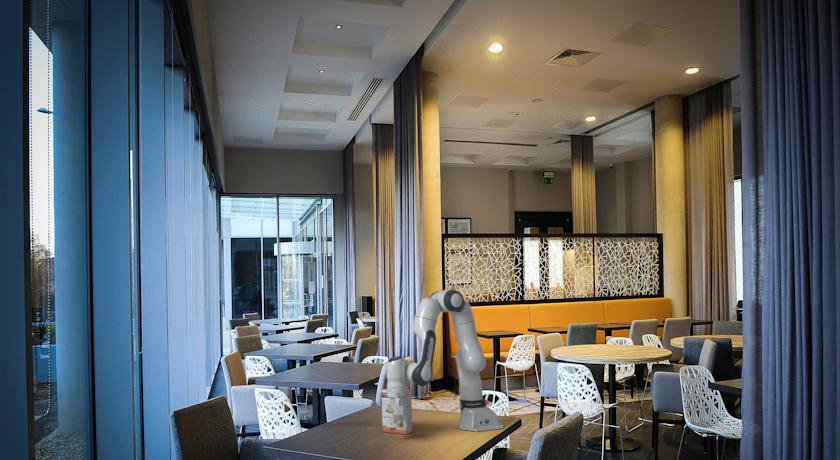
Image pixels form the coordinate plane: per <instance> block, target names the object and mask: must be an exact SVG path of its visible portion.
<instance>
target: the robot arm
mask: <svg viewBox="0 0 840 460" xmlns="http://www.w3.org/2000/svg"><path fill="white" fill-rule="evenodd" d="M463 296H464V295H463V294H462V293H461V292H460V291H458V290H456V289H444V290H438V291H435V292H432V294H430V295H429V296H428V297H426V298H422V300H421V301H420V303H419V305H418V307H417V309H416V312H415V315H414V319H413V323H412V330H413V333H414V334H415V335H416V337H417V338H418V339H420V341H421V343H422V345H421V353H420V357H419V358H420V359H419V362H413V361H411V360H407V359H405V358H404V356H399V355H398V356H392V357H390V358H389V359H388V360H387V362H386V367H385V370H386V379H387V383H386V388H387V396H388V397H390V403H391V408H392V410H393V411H394V415H396V422H397V424H400V423H401V416H403V415H404V407H403V399H404V398H403V397H404V396H406V389H407V386H406V385H407V383H411V384H414V385H417V386H419V387H420V386H421V387H424V386H427V385H429V384H430V382H431V381H432V379H433V375H434V373H433V371H434V370H433V363H434V357H435V356H434V355H435V351H436V343H437V335H436V326H437V322H438V318H439V315H440V313H449V314H450V316H451V320H452V327H453V333H454V338H455V341H456V343H457V345H458V348H459V349H458V350H457V352H456V354H455V356H454V358H455V362H456V366H457V372H458V379H459V385H460V386H459V390H460V398H459V410H460V414H459V421H458V422H459V423H458V429H460V430H462V431H463V430H464V431H471V432H476V433H477V432H485V431H494V430H502V429H503V428H504V424H503V423H502V422H500V421H499V420H500V419H499V417H498V414H497V413H496V412H495V411H494V410H493V409H492V408H489V406H488V405H489V404H490V401H489V400H488V399H485V398H484V397H483V382H482V378H481V376H480V372H481V371H483V370H484V369H485V368H486V366H487V359H486V356H485V355H484V352H483V349H482V346H481V344H480V340H479V337H478V333H477V328H476V323H475V317H474V313H473V310H472V307H471V305H470V304H471V303H469V302H468V301H467V300H465V298H464V297H463Z"/></svg>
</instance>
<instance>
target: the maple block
mask: <svg viewBox="0 0 840 460" xmlns="http://www.w3.org/2000/svg"><path fill="white" fill-rule="evenodd" d="M392 423H393V427H394V428H398V427H403V416H401V423H400V424H397V422H396V415H392Z"/></svg>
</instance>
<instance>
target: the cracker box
mask: <svg viewBox="0 0 840 460" xmlns="http://www.w3.org/2000/svg"><path fill="white" fill-rule="evenodd" d="M403 398H404V399H403V407H404V415H403V427H398V428H394V427H393V423H392V415H394V411H393V410H392V408H391V403H390V397H388V396H387V387H386V388H383V389H381V417H382V419H381V420H382V422H381V423H382V424H381V425H382V430H381V431H382V433H389V434H390V433H391V434H396V435H407V436H408V435H409V434H411V433H413V412H412V411H413V410H412V409H413V408H412V407H413V406H412V389H407V388H406V396H404V397H403Z"/></svg>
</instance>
